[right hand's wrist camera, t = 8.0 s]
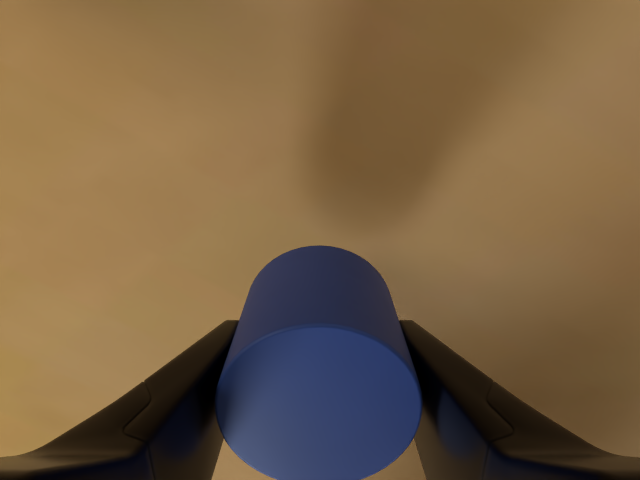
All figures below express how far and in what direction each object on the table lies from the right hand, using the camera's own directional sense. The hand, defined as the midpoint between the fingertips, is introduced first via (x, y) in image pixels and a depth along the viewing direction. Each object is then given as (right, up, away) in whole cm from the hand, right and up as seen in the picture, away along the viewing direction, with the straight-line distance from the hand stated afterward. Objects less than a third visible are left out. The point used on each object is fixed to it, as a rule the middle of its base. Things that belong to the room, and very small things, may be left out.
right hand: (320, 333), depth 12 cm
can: (0, 0, +1) cm, 1 cm away
